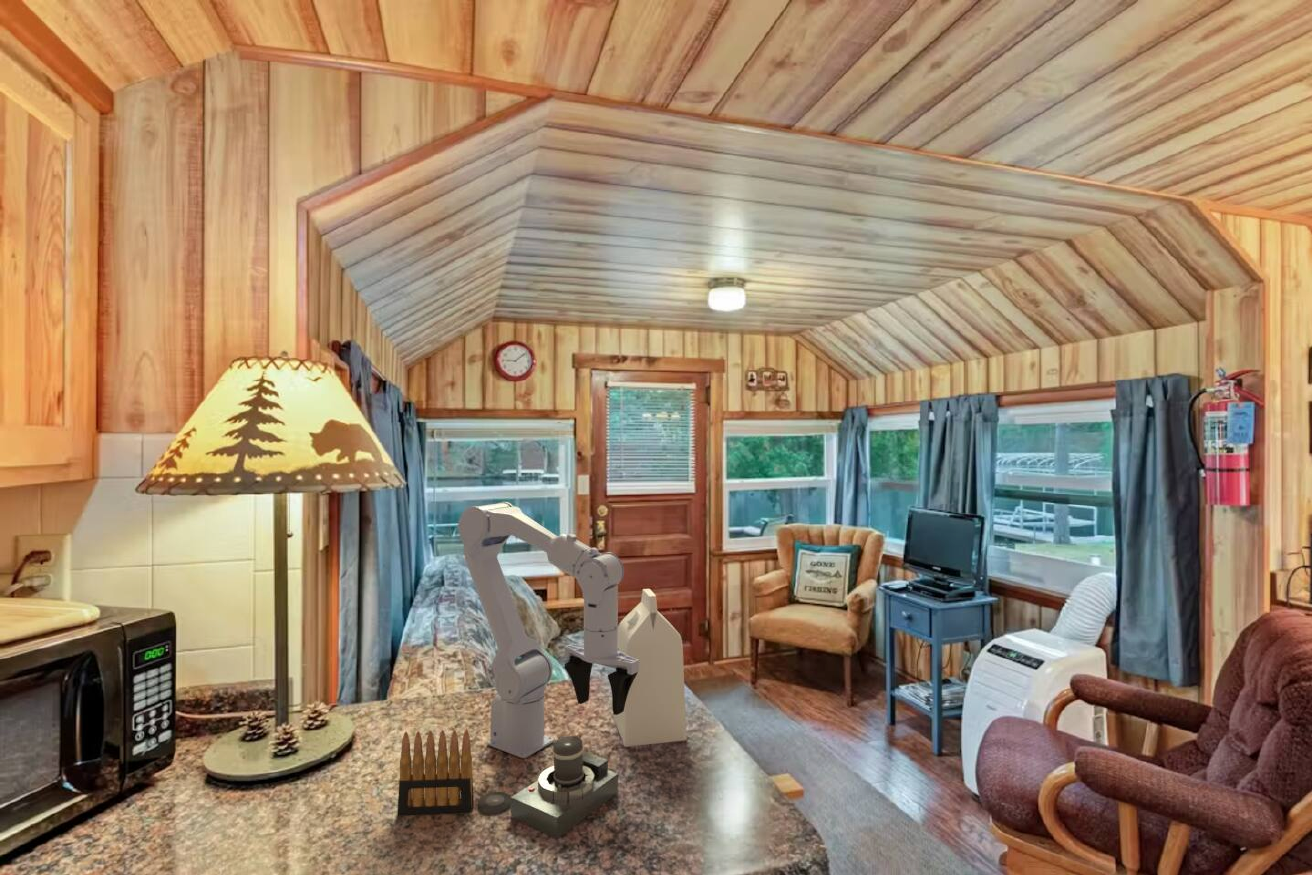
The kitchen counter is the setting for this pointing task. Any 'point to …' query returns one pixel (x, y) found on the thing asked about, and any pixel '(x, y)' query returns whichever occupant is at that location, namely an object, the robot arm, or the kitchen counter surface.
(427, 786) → the ammunition clip
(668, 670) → the milk
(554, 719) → the kitchen counter surface
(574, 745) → the lens
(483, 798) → the lens cap
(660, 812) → the kitchen counter surface
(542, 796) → the camera body
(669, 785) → the kitchen counter surface
